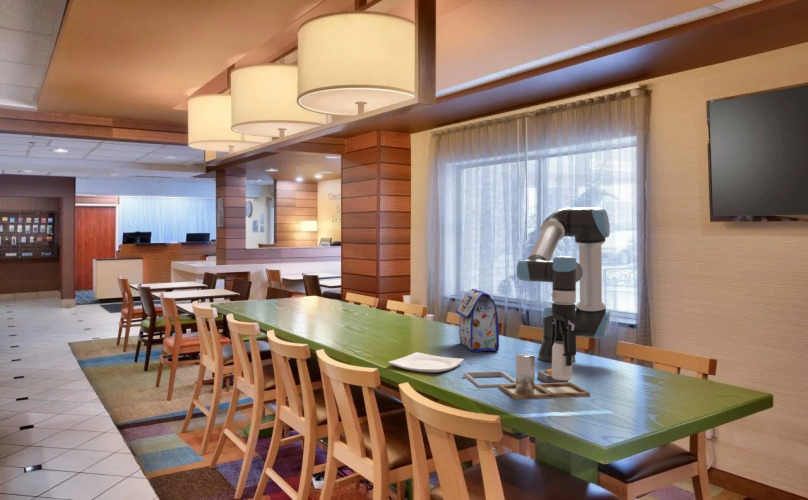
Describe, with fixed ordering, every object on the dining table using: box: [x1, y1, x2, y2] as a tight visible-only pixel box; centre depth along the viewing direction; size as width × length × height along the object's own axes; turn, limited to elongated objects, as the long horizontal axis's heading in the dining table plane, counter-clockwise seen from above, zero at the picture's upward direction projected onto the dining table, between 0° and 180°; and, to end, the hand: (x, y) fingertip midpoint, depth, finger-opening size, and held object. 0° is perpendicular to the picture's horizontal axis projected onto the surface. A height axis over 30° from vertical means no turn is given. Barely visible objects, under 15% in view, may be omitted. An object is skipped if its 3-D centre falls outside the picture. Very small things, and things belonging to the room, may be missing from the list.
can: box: [551, 341, 573, 382], centre depth 186 cm, size 6×6×12 cm
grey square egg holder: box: [537, 369, 570, 383], centre depth 201 cm, size 8×8×4 cm
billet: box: [515, 353, 536, 395], centre depth 184 cm, size 6×6×12 cm
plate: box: [388, 351, 465, 374], centre depth 224 cm, size 24×24×3 cm
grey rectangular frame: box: [462, 370, 516, 389], centre depth 200 cm, size 15×18×2 cm
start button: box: [546, 368, 552, 375], centre depth 201 cm, size 4×4×4 cm
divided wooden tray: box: [498, 381, 591, 400], centre depth 185 cm, size 26×13×2 cm, turn 101°
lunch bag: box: [455, 288, 500, 353], centre depth 262 cm, size 23×17×27 cm
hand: (562, 372), depth 186 cm, fingers closed on can, 6 cm apart
